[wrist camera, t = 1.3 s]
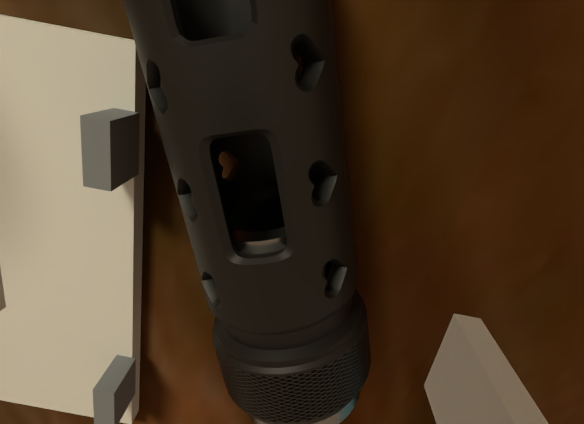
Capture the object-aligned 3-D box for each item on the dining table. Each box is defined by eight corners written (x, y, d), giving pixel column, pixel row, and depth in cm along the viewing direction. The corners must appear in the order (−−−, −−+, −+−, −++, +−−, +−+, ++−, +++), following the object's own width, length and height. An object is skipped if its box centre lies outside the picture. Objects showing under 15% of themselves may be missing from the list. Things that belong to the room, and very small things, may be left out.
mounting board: (-118, -9, 22) (-231, -27, 18) (151, 43, 22) (108, 38, 18) (-32, 378, 35) (-86, 426, 30) (142, 410, 35) (115, 463, 30)
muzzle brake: (321, -107, 19) (325, -271, 10) (363, 324, 30) (384, 449, 20) (150, -70, 20) (4, -185, 11) (247, 333, 31) (215, 456, 21)
